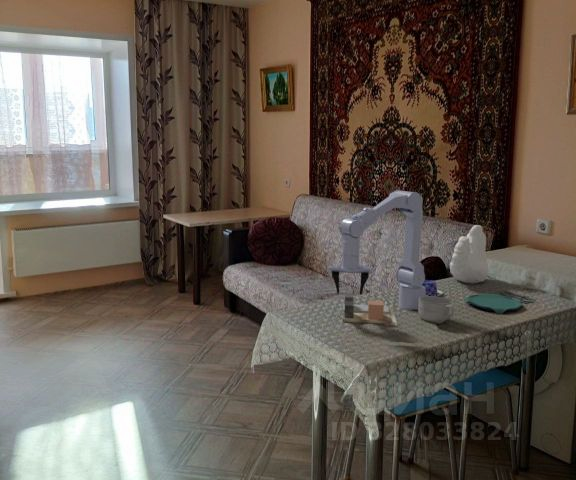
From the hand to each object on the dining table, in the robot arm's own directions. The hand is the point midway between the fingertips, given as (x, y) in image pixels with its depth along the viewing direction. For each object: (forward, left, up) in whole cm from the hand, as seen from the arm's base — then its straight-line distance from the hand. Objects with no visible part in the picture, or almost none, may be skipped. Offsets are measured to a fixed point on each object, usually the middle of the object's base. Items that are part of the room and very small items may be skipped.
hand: (349, 293), depth 197 cm
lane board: (-7, -5, -10) cm, 13 cm away
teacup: (-30, -3, -10) cm, 32 cm away
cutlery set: (-59, -30, -11) cm, 66 cm away
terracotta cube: (-9, 0, -8) cm, 12 cm away
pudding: (-32, -40, -10) cm, 52 cm away
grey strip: (-6, -10, -9) cm, 15 cm away
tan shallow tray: (-6, 0, -9) cm, 11 cm away
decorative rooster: (-50, -60, -10) cm, 79 cm away
